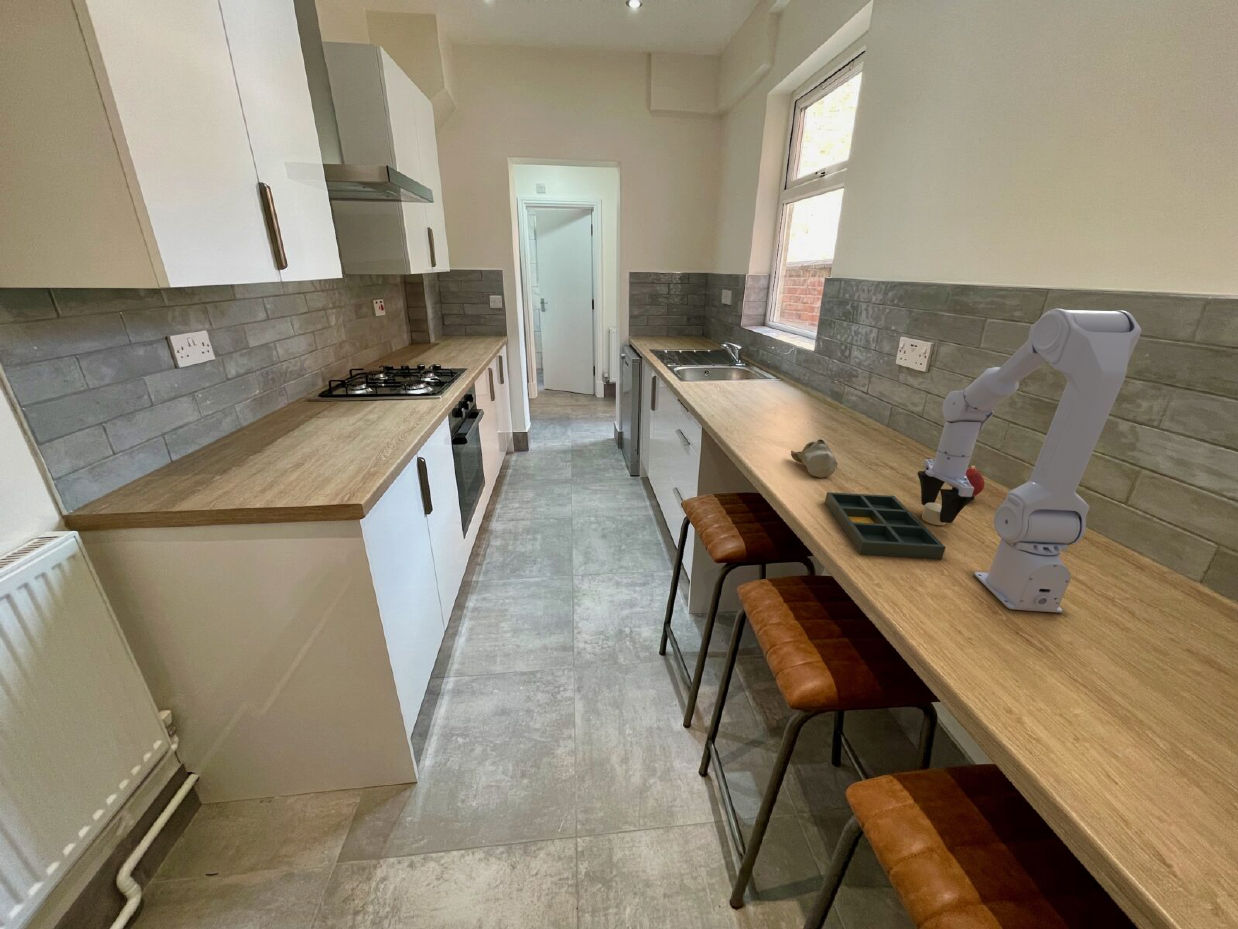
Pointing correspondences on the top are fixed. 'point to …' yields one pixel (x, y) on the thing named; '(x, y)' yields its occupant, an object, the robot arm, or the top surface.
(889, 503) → the grid
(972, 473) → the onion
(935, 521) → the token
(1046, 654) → the top surface
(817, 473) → the ceramic sculpture
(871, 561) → the top surface
